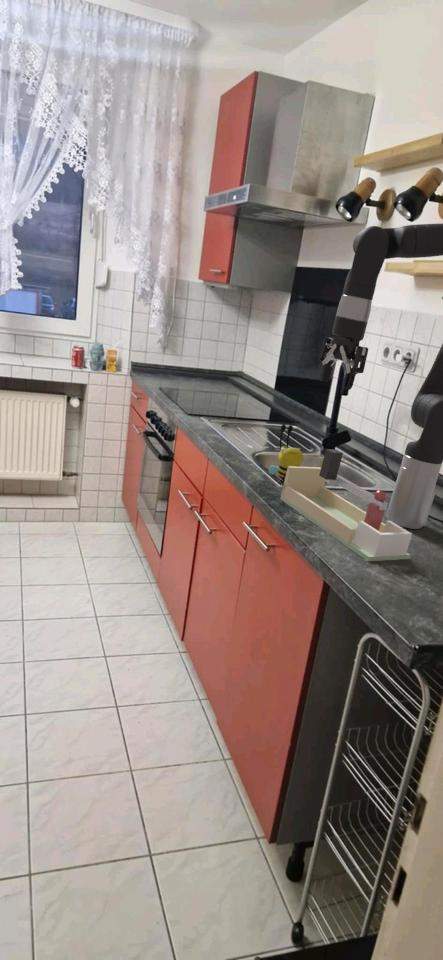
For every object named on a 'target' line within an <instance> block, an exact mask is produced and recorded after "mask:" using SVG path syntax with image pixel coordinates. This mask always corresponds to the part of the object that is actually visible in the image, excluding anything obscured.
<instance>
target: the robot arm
mask: <svg viewBox="0 0 443 960" xmlns="http://www.w3.org/2000/svg"><path fill="white" fill-rule="evenodd" d="M352 250H353V252H354V256H353V260H352V263H351V268H350V270H349V272H348V273H347V275H346V277H345V278H346V279H345V282H344V287H343V289H342V294H341V298H340V300H339V303H338V306H337V310H336V314H335V318H334V322H333V326H332V331H331V333H332V335H334V336H333V337H327V336H325V337H324V338H323V342H322V344H321V348H320V353H319V356H318V361H319V362H321V363H322V370H321V374H320V381H322V382H325V383H326V382H327V383H328V382H330V379H331V374H332V370H333V365H334V364H335V363H336V362H337V361H341V362H343V365H344V366H345V369H346V373H345V375H344V379H343V383H342V389H344V390H347V391H348V390H349V391H350V390H351V389H352V388H353V386H354V382H355V378H356V375H357V374H363V373H364V372H365V367H366V362H367V358H368V352H369V347H367V346H360V341H363V340H364V338H365V337H364V336H365V334H366V330H367V325H368V322H369V318H370V315H371V311H372V302H373V299H374V294H375V290H376V287H377V281H378V278H379V275H380V273H381V271H382V268H383V264H384V262H385V260H388V259H395V258H399V259H400V258H401V259H402V258H403V259H415V258H416V259H417V258H432V257H441V256H443V223H421V224H419V223H418V224H407V225H403V226H399V227H386V228H385V227H384V228H383V227H381V226H378V225H372V226H368V227H365V228H364V229H362V230H360V231H359V232H358V233H357V234H356V235H355V237H354V239H353V242H352ZM410 418H411V421H412V422H413V423H414V424H415V425H416V426H418V427H419V428H422V431H421V434H420V437H419V439H417V440H415V441H414V440H413V441H410V442H408V443H407V444H406V447H405V450H404V453H403V457H402V460H401V463H400V468H399V470H398V474H397V476H396V477H397V478H396V481H395V484H394V487H393V491H392V494H391V498H390V501H389V503H388V504H389V505H388V506H387V510H386V511H387V512H386V514H385V518H386V520H387V521H392V522H393V523H395V524H397V525H398V526H400V527H402V528H406V529H412V530H413V529H414V530H420V529H422V527H426V525H427V524H426V523H427V522H428V521H427V520H428V518H429V514H430V511H431V508H432V504H433V502H434V499H435V495H436V491H435V487H436V485H437V481H438V478H439V474H440V472H441V468H442V466H443V465H442V464H443V343H442V344H441V346H440V348H439V350H438V353H437V355H436V357H435V359H434V361H433V364H432V366H431V368H430V370H429V371H428V373H427V376H426V377H425V379H424V381H423V382H422V385H421V386H420V388H419V390H418V392H417V394H416V396H415V397H414V400H413V401H412V404H411V409H410Z"/></svg>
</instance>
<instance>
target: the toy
mask: <svg viewBox="0 0 443 960" xmlns="http://www.w3.org/2000/svg"><path fill="white" fill-rule="evenodd" d="M286 427H287V426H286V424H285V423H283V424H281V427H280V437H279V453H278V456H277V457H278V458H277V459H278V462H279V466H277V465H274V464H271V465H269V467H268V474H270V475H275V474H278V477H279V478H280V479H281V480H282V482H283V483H284V481H285V477H286V473H287V468H288V466H296V467H301V466H300V465H301V464H302V463H303V460H304V454H303V452H302V451H301V450H300V449H299V448H297V447H289V439H290V434H291V433H292V431H293V425H292V424H289V425H288V427H287V437H286V445H285V446H282V439H283V433H284V432H285V431H286Z"/></svg>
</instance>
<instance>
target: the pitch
mask: <svg viewBox="0 0 443 960" xmlns="http://www.w3.org/2000/svg"><path fill="white" fill-rule="evenodd" d="M321 467H322V466H321ZM321 467H319V466H317V467H316V466H298V467H296V466H288V468H287V473H286V477H285V481H284V482H283V485H282V490H281V495H280V499H279V500H280V501H282V502H284V503H285V504H286V505H288V506H289V507H291V508H292V509H294V510H295V511H296V512H298V513H299V514H301V516H304V518H306V519H307V520H309V522H311V523H313V524H315V526H317V527H319V528H320V529H321V530H323V531H324V532H326V533H327V534H329V535H330V536H331V537H333V538H334V539H336V540H337V541H339V542H340V543H341V544H342V545H344V546H345V547H347V548H348V549H350V550H351V551H352V552H354V553H355V554H357V555H358V556H359V557H361V558H362V559H364V561H367V562H383V561H399V560H410V558H411V554H410V553H409V552H408V549H409V545H410V543H411V539H412V536H413V533H412V532H410V531H408V530H407V529H405V528H404V527H402V526H399V525H397V524H395V523H393V522H392V521H389V520H386V522H385V523H384V522H383V521H381V525H380V528H379V531H378V530H376V529H375V528H373V527H372V526H370V525H368V524H367V523H365V522H364V520H365V517H366V513H367V511H365V510H363V509H362V508H359V507H358V506H356V505H355V504H353V503H352V502H350V501H348V500H346V499H345V498H343V497H342V496H340V495H338V494H337V493H336V492H334V491H332V490H330V489H329V488H327V487H326V486H325V484H326V482H325V479H324V478H322V477H321V476H319V475H320V471H321ZM382 531H383V532H387V533H381V532H382Z"/></svg>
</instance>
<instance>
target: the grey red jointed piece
mask: <svg viewBox="0 0 443 960" xmlns="http://www.w3.org/2000/svg"><path fill="white" fill-rule="evenodd" d="M343 455H344V452H341V451H340V450H338V449H329V448H326V449H325V452H324V456H323V459H322V463H321V471H320V475H319V476H321V477H322V478H324V479H325V483H328V484H336V485H338V486H339V487H341V488H343V489H345V490H346V491H348V492H350V493H351V494H353V495H355V496H357V497H358V498H360V499H361V500H362V501H364V502H366V503H368V507H367V510H366V517H365V520H364V522H365V523H367V524H368V525H370V526H372V527H373V528H375V529H376V530H378V531H379V528H380V525H381V522H383V518H384V514H385V511H387V510H388V506H389V505H388V504H389V502H387V501H386V500H387V493H386V491H385V490H383V489H378V490H376V491H375V492H374V494H373V493H372V492H370V491H368V490H366V489H364V488H363V487H361V486H359V485H357V484H355V483H354V482H352V481H350V480H349V479H347V478H346V477H343V476H342V475H340V474H339V471H340V466H341V463H342V459H343Z"/></svg>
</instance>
